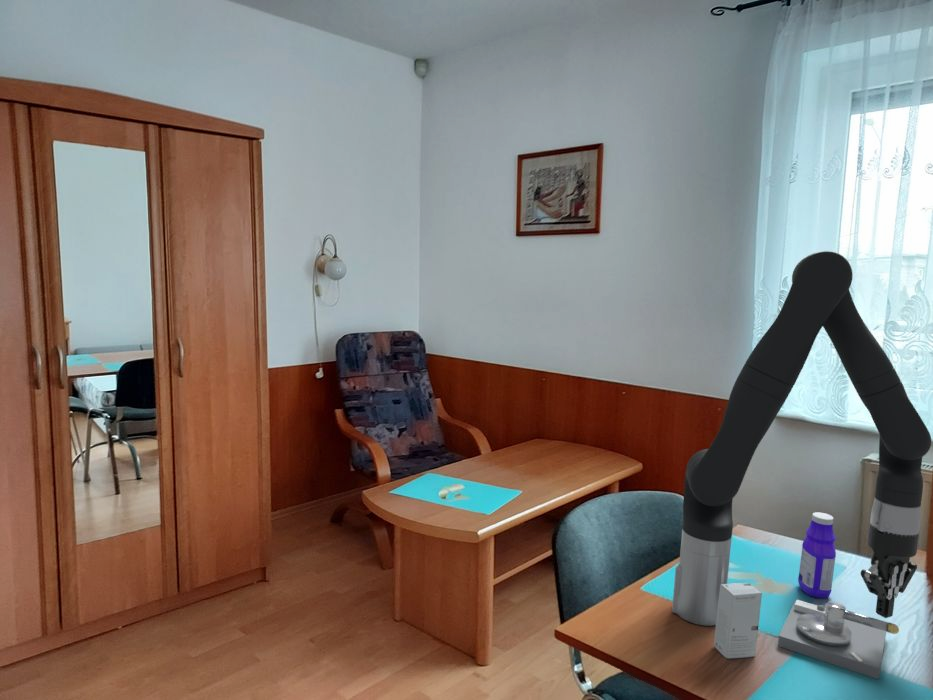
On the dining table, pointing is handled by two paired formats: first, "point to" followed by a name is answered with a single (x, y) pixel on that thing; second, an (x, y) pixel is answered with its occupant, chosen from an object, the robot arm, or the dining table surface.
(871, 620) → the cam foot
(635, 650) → the dining table surface
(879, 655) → the switch base
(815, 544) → the bottle
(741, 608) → the skincare box
